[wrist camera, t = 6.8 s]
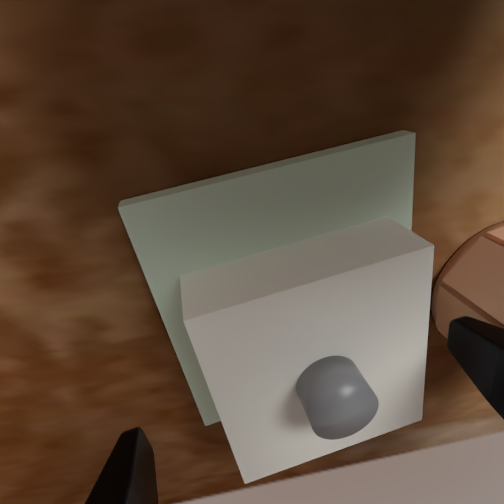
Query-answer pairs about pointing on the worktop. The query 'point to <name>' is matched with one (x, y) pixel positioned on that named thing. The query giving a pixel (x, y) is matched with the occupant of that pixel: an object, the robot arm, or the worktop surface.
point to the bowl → (472, 282)
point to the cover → (314, 342)
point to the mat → (261, 221)
